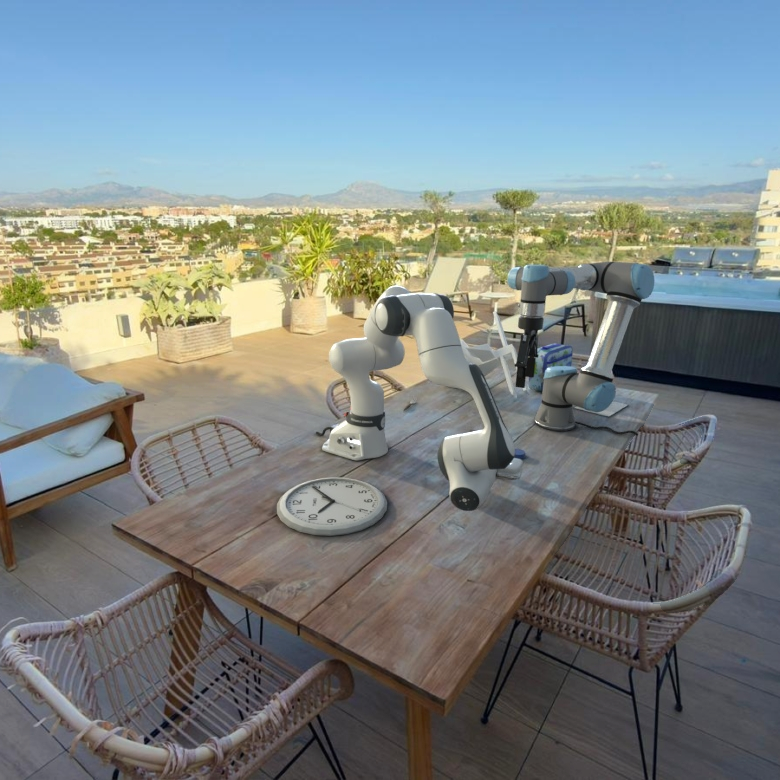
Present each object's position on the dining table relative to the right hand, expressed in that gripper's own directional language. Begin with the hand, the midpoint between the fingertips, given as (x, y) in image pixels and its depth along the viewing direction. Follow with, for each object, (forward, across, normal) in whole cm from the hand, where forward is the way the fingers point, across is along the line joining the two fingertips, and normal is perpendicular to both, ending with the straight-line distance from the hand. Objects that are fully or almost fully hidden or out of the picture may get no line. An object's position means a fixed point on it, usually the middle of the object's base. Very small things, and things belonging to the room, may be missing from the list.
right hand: (524, 381), depth 168 cm
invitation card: (+26, -68, +20) cm, 76 cm away
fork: (+26, -29, -53) cm, 66 cm away
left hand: (+14, +28, -2) cm, 31 cm away
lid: (+25, 0, 0) cm, 25 cm away
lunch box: (+26, -86, -5) cm, 90 cm away
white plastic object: (+26, -62, -32) cm, 75 cm away
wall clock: (+26, +57, -37) cm, 73 cm away
